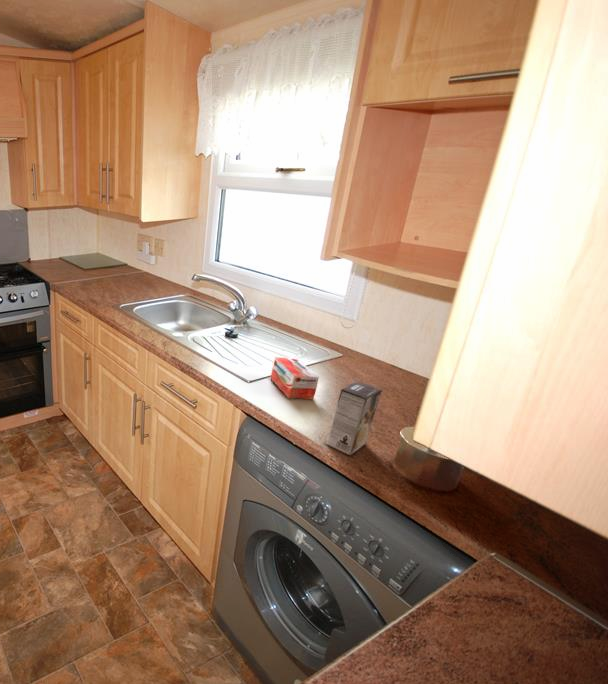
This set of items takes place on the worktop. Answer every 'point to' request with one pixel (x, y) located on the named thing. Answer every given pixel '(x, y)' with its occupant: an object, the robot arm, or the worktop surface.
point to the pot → (426, 468)
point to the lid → (407, 438)
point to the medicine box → (294, 378)
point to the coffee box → (353, 417)
